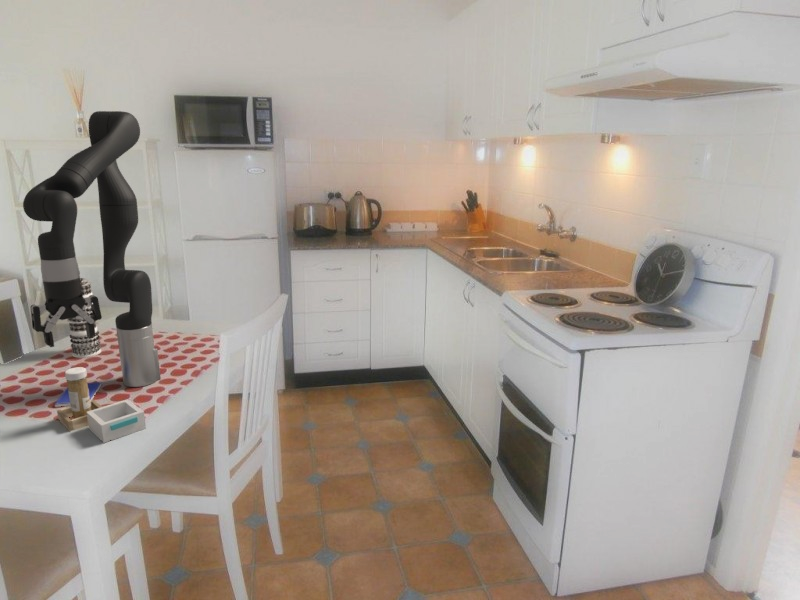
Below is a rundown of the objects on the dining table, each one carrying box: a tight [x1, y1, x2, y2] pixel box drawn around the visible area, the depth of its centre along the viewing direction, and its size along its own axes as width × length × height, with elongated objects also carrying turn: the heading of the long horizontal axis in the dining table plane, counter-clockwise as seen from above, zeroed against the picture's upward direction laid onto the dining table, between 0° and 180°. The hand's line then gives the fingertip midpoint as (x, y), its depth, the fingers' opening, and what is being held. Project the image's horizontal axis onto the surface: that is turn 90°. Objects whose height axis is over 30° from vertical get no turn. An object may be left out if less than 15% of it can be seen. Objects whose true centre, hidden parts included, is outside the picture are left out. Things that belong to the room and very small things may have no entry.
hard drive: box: [54, 382, 102, 408], centre depth 152 cm, size 2×8×12 cm
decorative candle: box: [66, 277, 102, 359], centre depth 179 cm, size 9×9×25 cm
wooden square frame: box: [56, 399, 103, 432], centre depth 139 cm, size 9×9×2 cm
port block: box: [87, 399, 147, 444], centre depth 134 cm, size 10×10×4 cm
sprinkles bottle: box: [64, 366, 92, 419], centre depth 137 cm, size 5×5×14 cm
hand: (71, 341), depth 133 cm, fingers open, 8 cm apart
